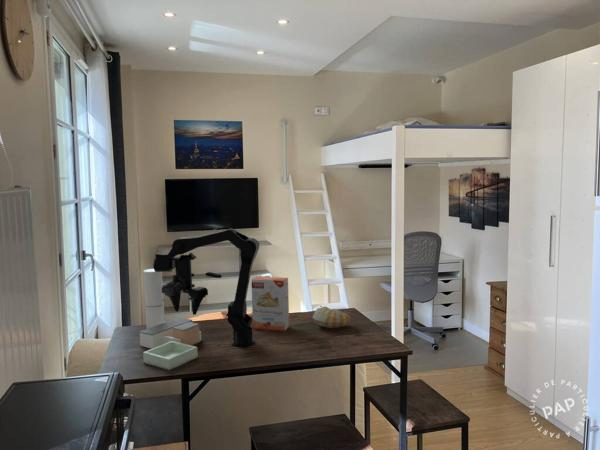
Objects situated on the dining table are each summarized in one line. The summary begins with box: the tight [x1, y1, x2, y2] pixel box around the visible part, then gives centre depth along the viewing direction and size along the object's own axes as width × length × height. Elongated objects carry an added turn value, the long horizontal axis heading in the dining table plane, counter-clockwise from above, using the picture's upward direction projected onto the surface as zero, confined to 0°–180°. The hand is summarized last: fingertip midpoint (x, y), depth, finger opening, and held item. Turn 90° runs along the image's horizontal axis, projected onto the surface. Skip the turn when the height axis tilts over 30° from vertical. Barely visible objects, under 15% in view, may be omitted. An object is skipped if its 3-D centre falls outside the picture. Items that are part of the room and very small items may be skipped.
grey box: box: [173, 321, 201, 346], centre depth 174 cm, size 6×8×7 cm
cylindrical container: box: [143, 268, 166, 329], centre depth 190 cm, size 7×7×25 cm
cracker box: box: [250, 275, 290, 332], centre depth 189 cm, size 14×6×21 cm, turn 73°
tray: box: [142, 341, 199, 371], centre depth 159 cm, size 13×13×4 cm
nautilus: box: [312, 305, 352, 329], centre depth 192 cm, size 8×22×15 cm
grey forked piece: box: [138, 317, 202, 349], centre depth 177 cm, size 16×20×5 cm
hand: (185, 313), depth 173 cm, fingers open, 9 cm apart
